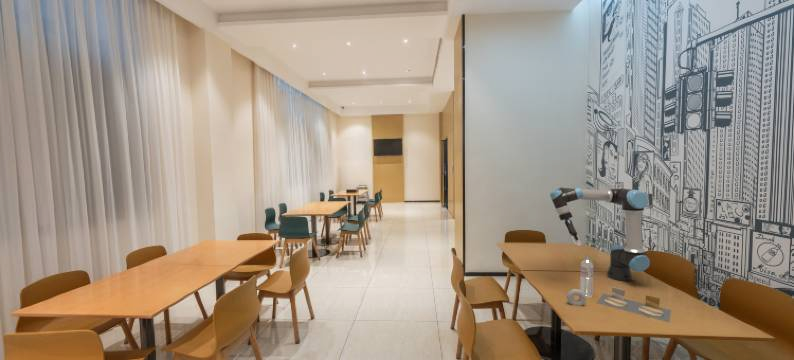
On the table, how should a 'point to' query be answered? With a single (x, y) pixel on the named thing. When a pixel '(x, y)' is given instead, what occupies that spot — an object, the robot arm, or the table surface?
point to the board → (635, 308)
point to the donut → (572, 293)
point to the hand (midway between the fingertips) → (577, 244)
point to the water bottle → (586, 277)
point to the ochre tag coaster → (651, 302)
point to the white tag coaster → (619, 295)
